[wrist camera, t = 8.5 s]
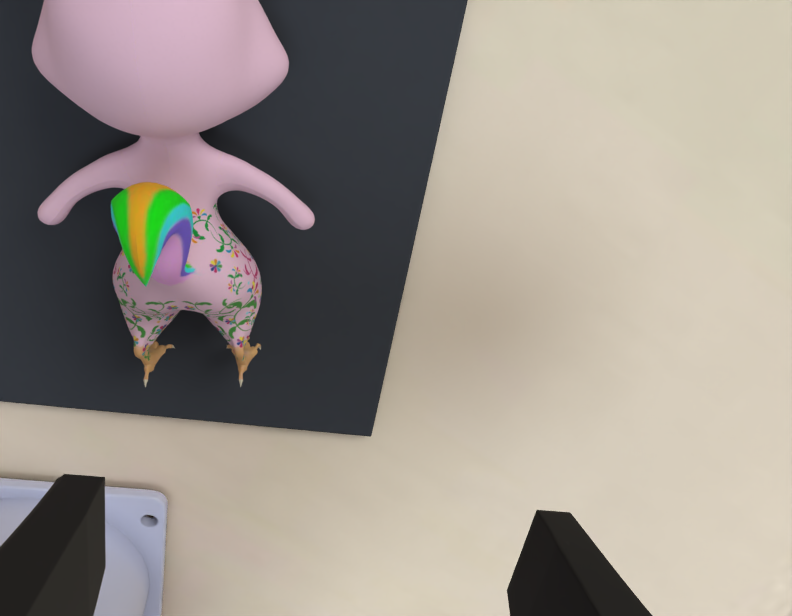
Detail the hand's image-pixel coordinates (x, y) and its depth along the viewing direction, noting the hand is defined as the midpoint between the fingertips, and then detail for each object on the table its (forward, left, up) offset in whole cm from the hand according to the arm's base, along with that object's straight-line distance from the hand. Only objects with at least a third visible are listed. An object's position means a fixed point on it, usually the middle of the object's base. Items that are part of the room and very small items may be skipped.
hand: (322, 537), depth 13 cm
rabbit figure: (+5, +4, -9) cm, 11 cm away
